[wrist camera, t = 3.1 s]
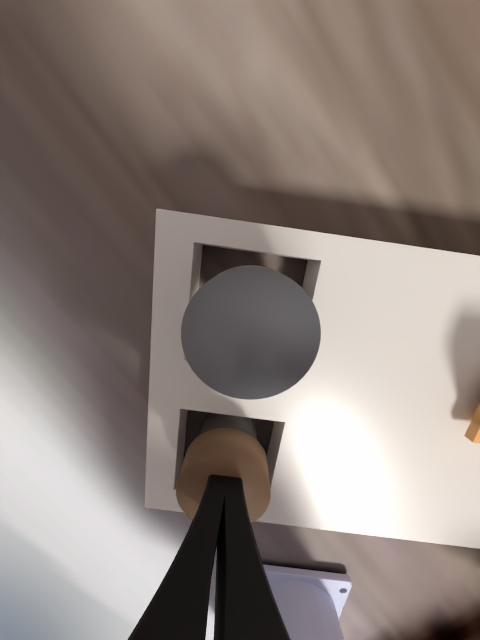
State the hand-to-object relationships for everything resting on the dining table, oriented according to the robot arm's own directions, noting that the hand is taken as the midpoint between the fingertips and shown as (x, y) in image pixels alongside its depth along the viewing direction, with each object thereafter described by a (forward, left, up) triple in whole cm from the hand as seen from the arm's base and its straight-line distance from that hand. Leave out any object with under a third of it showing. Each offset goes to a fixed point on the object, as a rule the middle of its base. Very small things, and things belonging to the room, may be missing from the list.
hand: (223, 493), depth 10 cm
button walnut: (0, 0, -3) cm, 3 cm away
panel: (+3, -6, -4) cm, 8 cm away
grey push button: (+8, 0, -2) cm, 8 cm away
